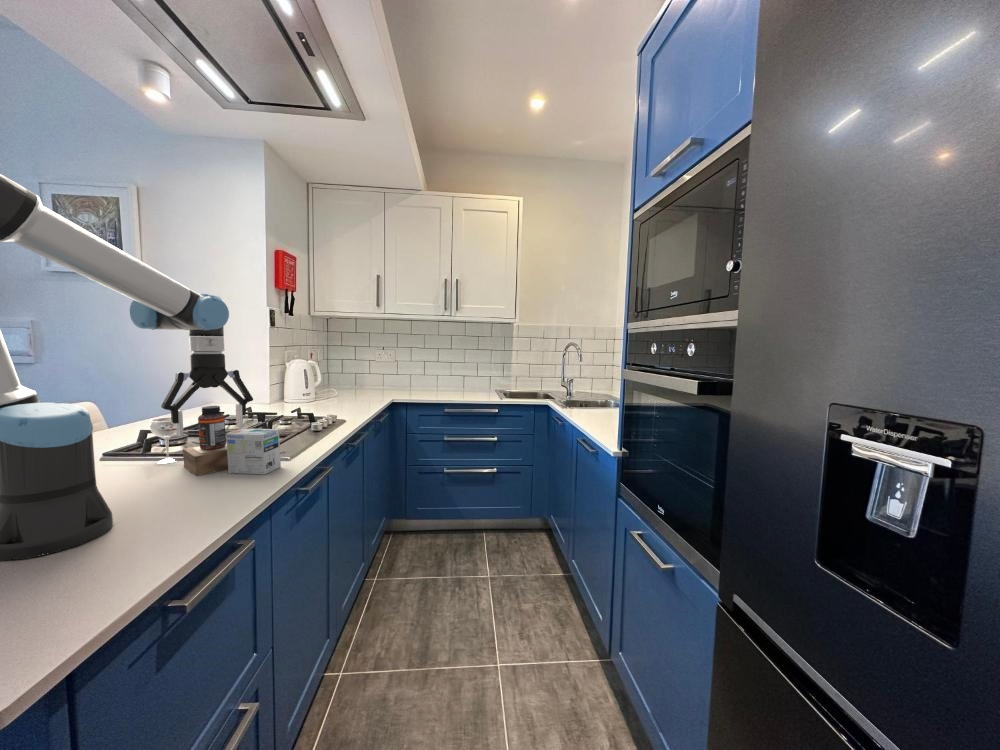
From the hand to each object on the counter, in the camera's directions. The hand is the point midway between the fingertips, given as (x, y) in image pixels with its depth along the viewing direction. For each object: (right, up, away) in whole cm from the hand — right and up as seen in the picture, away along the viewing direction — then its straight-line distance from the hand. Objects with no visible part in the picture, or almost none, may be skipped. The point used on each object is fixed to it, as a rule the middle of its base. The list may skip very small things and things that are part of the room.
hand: (211, 431), depth 110 cm
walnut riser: (0, -10, +1) cm, 10 cm away
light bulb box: (+13, -10, -2) cm, 17 cm away
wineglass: (-16, -9, +5) cm, 19 cm away
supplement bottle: (0, -5, +1) cm, 5 cm away
